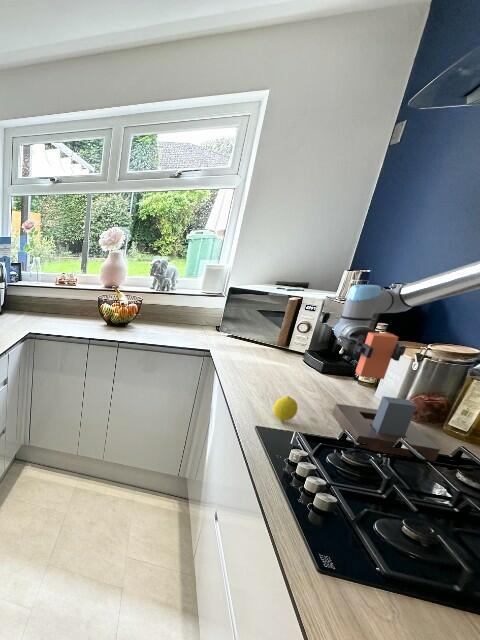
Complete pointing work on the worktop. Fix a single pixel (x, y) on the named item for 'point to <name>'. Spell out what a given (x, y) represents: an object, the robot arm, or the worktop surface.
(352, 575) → the worktop surface
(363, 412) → the dock
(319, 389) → the worktop surface
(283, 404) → the lemon
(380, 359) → the pad
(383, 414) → the pad
